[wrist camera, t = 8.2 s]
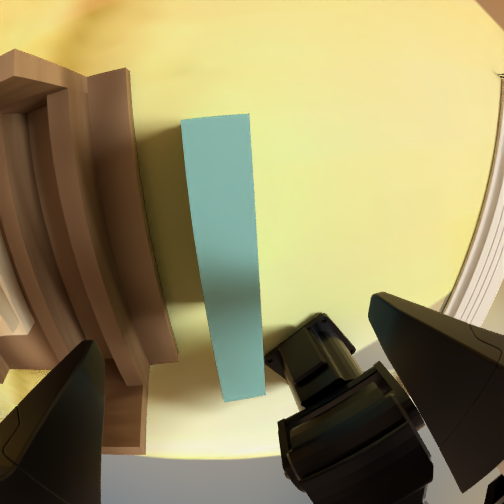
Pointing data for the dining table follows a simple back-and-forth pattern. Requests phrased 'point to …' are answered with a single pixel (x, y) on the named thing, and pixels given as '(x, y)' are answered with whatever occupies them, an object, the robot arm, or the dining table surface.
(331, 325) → the robot arm
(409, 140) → the dining table surface
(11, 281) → the board
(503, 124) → the baseboard molding
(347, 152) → the dining table surface
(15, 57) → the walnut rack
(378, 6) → the dining table surface
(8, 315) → the upper offcut
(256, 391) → the teal sheet
